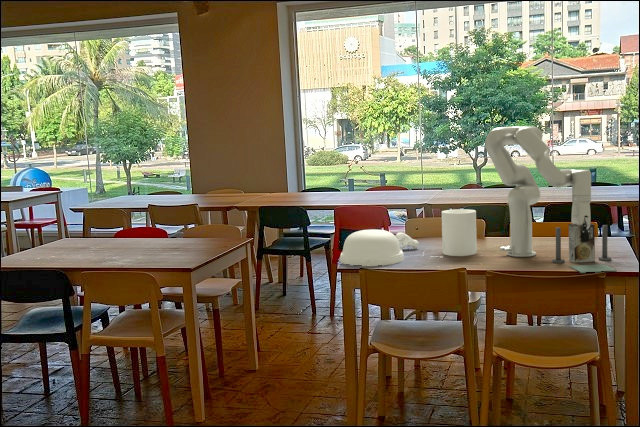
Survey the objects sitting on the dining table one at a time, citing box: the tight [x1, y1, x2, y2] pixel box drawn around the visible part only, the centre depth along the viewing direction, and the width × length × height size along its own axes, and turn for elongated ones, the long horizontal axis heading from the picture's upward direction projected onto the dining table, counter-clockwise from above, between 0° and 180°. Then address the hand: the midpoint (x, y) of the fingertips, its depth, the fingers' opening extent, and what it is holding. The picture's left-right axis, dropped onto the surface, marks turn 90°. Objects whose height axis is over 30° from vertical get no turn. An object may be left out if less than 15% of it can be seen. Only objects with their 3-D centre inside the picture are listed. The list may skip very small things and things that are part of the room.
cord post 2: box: [598, 224, 612, 262], centre depth 293 cm, size 5×5×15 cm
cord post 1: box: [551, 226, 566, 264], centre depth 293 cm, size 5×5×15 cm
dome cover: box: [339, 228, 405, 267], centre depth 319 cm, size 32×30×14 cm
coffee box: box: [568, 222, 596, 264], centre depth 293 cm, size 9×6×16 cm
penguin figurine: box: [395, 232, 420, 251], centre depth 341 cm, size 6×8×12 cm
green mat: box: [569, 263, 617, 274], centre depth 277 cm, size 14×12×1 cm
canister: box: [441, 208, 478, 257], centre depth 325 cm, size 16×16×20 cm
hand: (581, 239), depth 293 cm, fingers closed on coffee box, 6 cm apart
